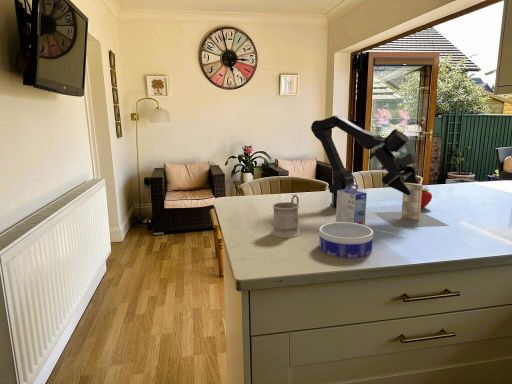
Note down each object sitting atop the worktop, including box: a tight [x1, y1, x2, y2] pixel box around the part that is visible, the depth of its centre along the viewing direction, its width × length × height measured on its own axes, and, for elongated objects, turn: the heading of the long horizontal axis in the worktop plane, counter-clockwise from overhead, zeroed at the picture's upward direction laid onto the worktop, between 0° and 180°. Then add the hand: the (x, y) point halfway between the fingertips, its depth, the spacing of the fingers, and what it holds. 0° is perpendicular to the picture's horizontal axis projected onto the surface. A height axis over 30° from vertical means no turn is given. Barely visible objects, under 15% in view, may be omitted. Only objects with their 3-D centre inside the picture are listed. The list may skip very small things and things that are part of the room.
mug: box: [270, 193, 302, 239], centre depth 121 cm, size 14×10×12 cm
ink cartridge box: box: [335, 183, 368, 226], centre depth 127 cm, size 10×6×14 cm, turn 27°
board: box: [401, 182, 423, 220], centre depth 132 cm, size 6×2×13 cm, turn 44°
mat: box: [373, 210, 450, 229], centre depth 133 cm, size 19×20×1 cm
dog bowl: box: [318, 221, 374, 259], centre depth 105 cm, size 15×15×6 cm
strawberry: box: [421, 187, 433, 209], centre depth 147 cm, size 6×8×10 cm
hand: (415, 192), depth 130 cm, fingers open, 9 cm apart
